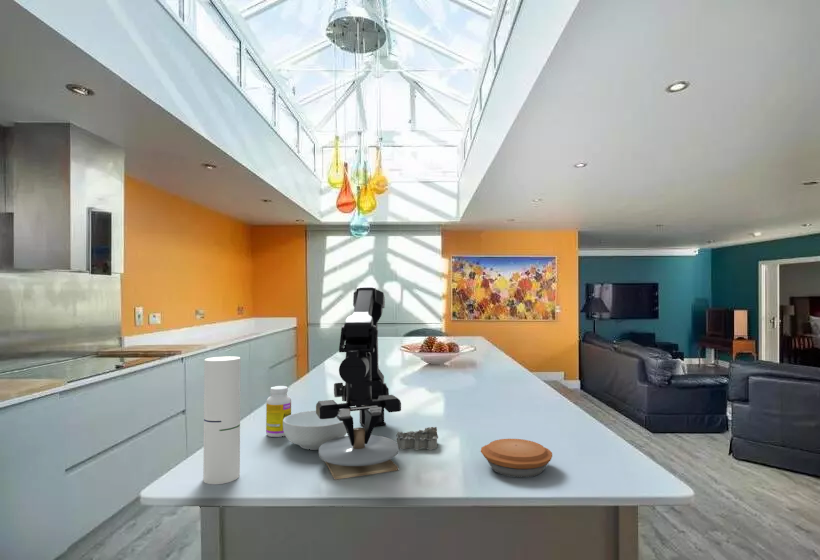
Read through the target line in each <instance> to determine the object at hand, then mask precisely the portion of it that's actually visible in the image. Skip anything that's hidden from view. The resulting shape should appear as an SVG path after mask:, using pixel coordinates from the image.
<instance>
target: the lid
mask: <svg viewBox="0 0 820 560" xmlns="http://www.w3.org/2000/svg"><path fill="white" fill-rule="evenodd" d="M353 428H354V445H353V446H352V445H351V443H350V440H349V437H348V435H345V436H344V437H339V438H335V439H332V440H329V441H327V442H325V443H323V444H322V445H321V446H320V447H319V449H318V457H319V458H320V459H321V460H322V461H324V462H325V461H326V462H328V463H331V464H335V465H342V466H366V465H373V464H378V463H382V462H385V461H388V460H390V459H391V460H392V459H394V458H395V457H396V456H397V455H398V454H399V448H398V444H397V441H395V440H393V439H392V438H390V437H385V436H382V435H376V434H375V435H374V434H371V436H370V438H369V440H368V443H367V444H365V427H353Z"/></svg>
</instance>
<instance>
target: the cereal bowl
mask: <svg viewBox="0 0 820 560" xmlns="http://www.w3.org/2000/svg"><path fill="white" fill-rule="evenodd" d="M283 431H284V434H285V436H284V437H285V438H286V439H287V440H288V441H290V442H291V443H292V444H294V445H297V446H300V448H301V449H304V450H309V449H310V451H311V450H314V451H317V450H319V447H320V446H321V445H322V444H323V443H325V442H327V441H329V440H332V439H335V438H339V437H344V436H347V431H346V428H345V426H344V423H343V421H339V419H338V418H337V417H335V418H330V419H320V418H319V417H318V415H317V414H316V410H307V411H301V412H296V413H291V415H289V416H287V417H285V418H284V419H283Z"/></svg>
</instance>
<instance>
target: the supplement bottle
mask: <svg viewBox="0 0 820 560" xmlns="http://www.w3.org/2000/svg"><path fill="white" fill-rule="evenodd" d="M269 389H270V390H269V393H270V396H268V398H267V399H266V411H265V412H266V414H265V415H266V417H265V418H266V419H265V421H266V424H265V429H266V430H265V432H266V433H265V434H266V435H267V437H270V438H271V437H272V438H282V436H283V437H286V436H285V434H284V431H283V419H284V418H285V417H287V416H289V415H292V398H291V396H289V395H288V392H289V390H288V389H289V387H288V386H286V385H276V386H271V387H270V388H269Z"/></svg>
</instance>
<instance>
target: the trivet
mask: <svg viewBox="0 0 820 560" xmlns="http://www.w3.org/2000/svg"><path fill="white" fill-rule="evenodd" d="M324 463H325V465H326V466H327V468H328V470H329V472H330V474H331V476H332V477H333V479H334V480H342V479H348V478H354V477H360V476H361V477H363V476H369V475H375V474H383V473H389V472H397V471H399V466H398V465H397V464H396V463H395V462H394V461H393V460H392V459H390V460H388V461H385V462H382V463H378V464H373V465H366V466H342V465H335V464H331V463H328V462H326V461H324Z"/></svg>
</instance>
